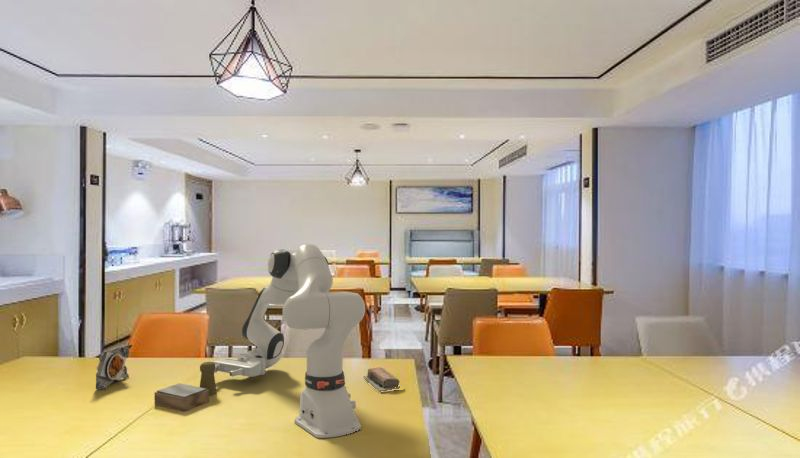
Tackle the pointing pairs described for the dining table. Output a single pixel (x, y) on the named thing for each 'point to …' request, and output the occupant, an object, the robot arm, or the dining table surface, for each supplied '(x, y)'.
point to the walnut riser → (181, 397)
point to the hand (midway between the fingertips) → (221, 372)
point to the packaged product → (381, 379)
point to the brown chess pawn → (208, 377)
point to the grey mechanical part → (112, 366)
